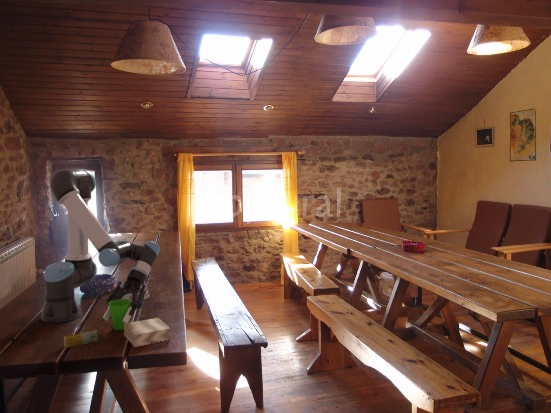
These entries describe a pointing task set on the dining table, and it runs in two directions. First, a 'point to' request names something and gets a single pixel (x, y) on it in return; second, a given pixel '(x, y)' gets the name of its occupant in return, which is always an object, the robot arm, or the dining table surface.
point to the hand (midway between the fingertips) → (114, 320)
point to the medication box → (80, 338)
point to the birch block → (146, 332)
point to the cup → (119, 312)
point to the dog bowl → (129, 295)
